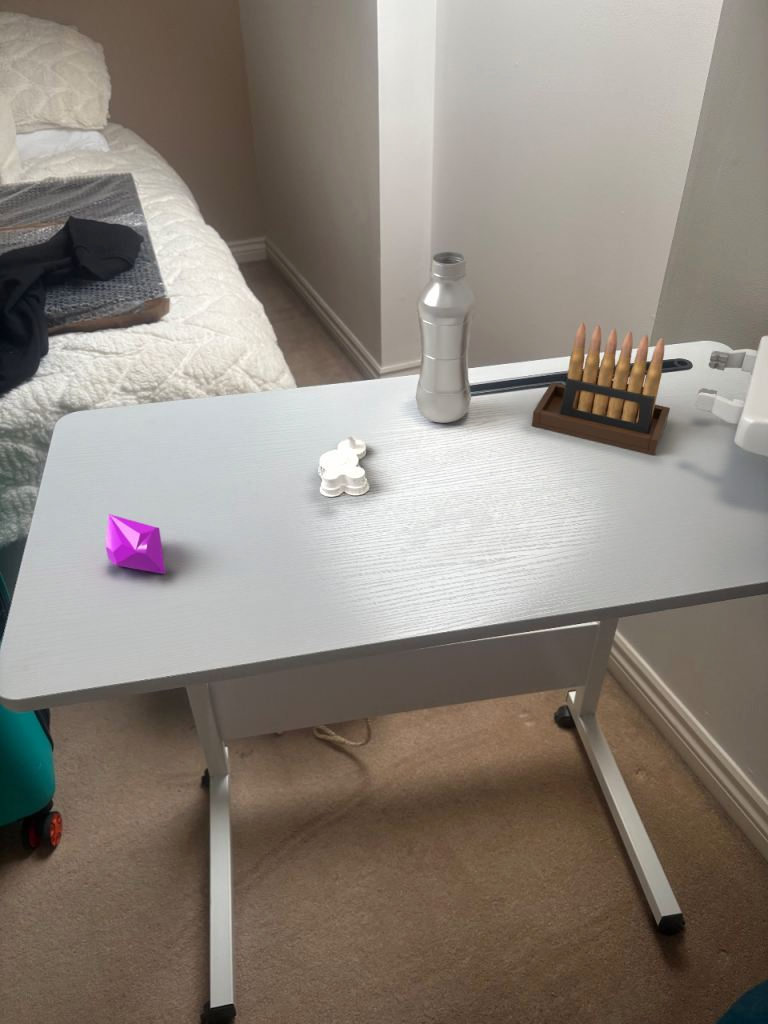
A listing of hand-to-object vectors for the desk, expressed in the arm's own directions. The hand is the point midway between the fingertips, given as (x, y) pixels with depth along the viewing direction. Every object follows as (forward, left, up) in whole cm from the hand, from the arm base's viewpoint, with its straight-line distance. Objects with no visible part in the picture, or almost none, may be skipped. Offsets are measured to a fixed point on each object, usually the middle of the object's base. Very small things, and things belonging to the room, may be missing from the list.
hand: (703, 377), depth 91 cm
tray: (+10, 0, -9) cm, 14 cm away
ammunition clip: (+10, 0, -9) cm, 13 cm away
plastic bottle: (+28, +6, -9) cm, 30 cm away
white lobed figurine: (+33, +22, -9) cm, 41 cm away
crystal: (+45, +43, -9) cm, 63 cm away
